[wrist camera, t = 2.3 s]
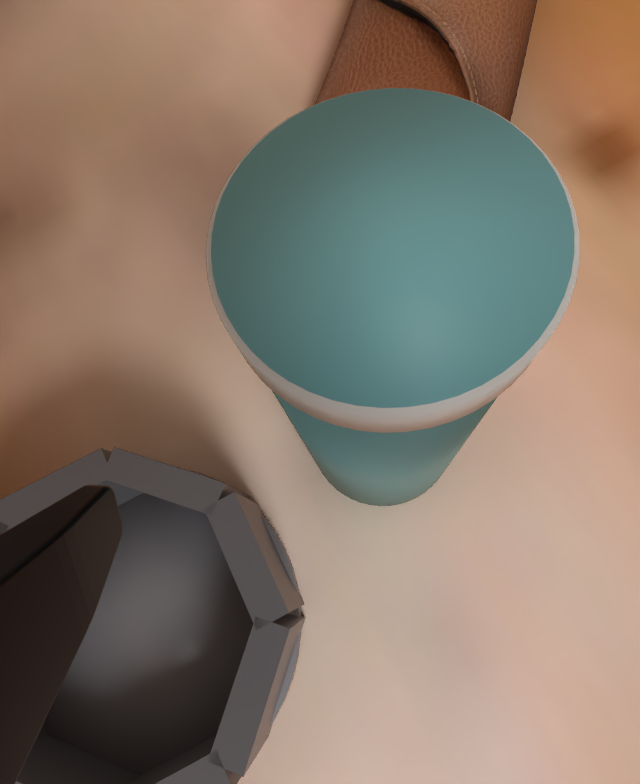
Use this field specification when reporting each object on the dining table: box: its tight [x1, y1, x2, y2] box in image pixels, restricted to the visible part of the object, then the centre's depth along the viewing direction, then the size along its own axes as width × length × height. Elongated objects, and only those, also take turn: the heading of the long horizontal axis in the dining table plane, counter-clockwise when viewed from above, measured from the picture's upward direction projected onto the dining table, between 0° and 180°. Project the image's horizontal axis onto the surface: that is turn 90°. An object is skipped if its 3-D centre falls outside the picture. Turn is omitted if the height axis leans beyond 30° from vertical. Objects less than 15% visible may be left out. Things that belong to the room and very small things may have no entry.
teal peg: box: [206, 88, 580, 506], centre depth 14 cm, size 5×5×13 cm
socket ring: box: [0, 447, 305, 784], centre depth 17 cm, size 10×10×4 cm
